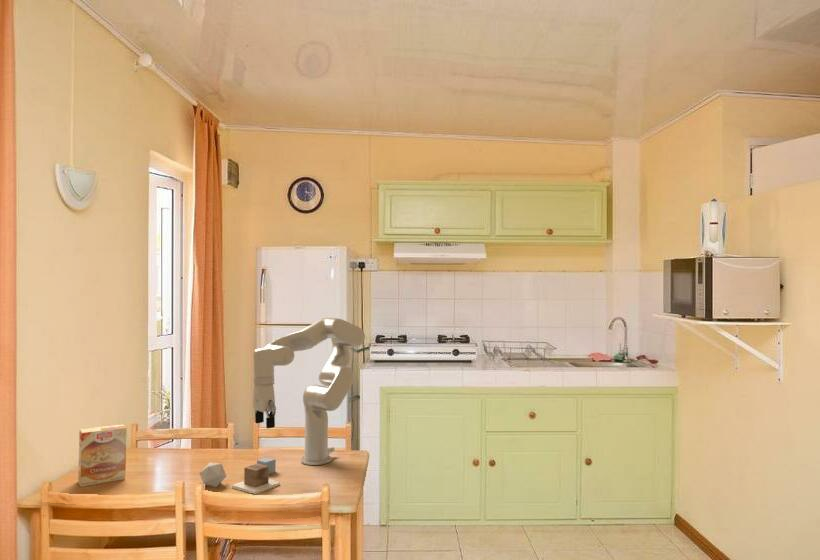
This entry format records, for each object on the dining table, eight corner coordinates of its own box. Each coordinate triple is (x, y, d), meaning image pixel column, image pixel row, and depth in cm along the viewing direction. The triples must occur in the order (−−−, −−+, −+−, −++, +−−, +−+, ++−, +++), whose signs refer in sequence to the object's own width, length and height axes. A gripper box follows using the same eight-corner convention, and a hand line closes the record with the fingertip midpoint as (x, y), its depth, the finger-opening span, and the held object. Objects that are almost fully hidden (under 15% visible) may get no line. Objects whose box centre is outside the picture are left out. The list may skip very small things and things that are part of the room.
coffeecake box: (79, 487, 201) (81, 432, 202) (77, 481, 207) (78, 428, 208) (126, 479, 210) (127, 427, 211) (122, 474, 216) (123, 423, 216)
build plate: (257, 478, 212) (257, 476, 212) (280, 484, 205) (280, 482, 205) (231, 487, 202) (231, 485, 202) (254, 494, 195) (254, 491, 195)
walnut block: (257, 479, 208) (257, 463, 208) (268, 482, 205) (268, 466, 205) (244, 484, 203) (244, 467, 203) (255, 487, 200) (255, 470, 200)
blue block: (266, 469, 223) (266, 457, 223) (275, 472, 220) (275, 459, 220) (256, 473, 219) (257, 460, 219) (265, 475, 216) (265, 462, 216)
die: (230, 484, 207) (223, 460, 212) (224, 480, 200) (217, 454, 204) (208, 494, 205) (201, 469, 210) (201, 489, 198) (195, 464, 202)
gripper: (245, 379, 219) (246, 422, 219) (264, 385, 206) (265, 431, 206) (263, 376, 224) (264, 419, 224) (283, 382, 210) (284, 427, 211)
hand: (265, 425), depth 215 cm, fingers open, 9 cm apart
